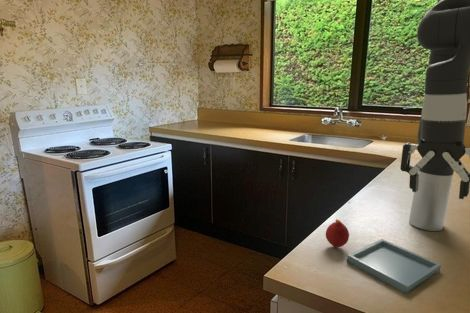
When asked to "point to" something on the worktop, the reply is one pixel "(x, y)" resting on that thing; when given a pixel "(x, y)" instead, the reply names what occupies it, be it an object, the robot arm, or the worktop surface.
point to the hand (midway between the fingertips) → (437, 194)
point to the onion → (337, 234)
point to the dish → (394, 265)
